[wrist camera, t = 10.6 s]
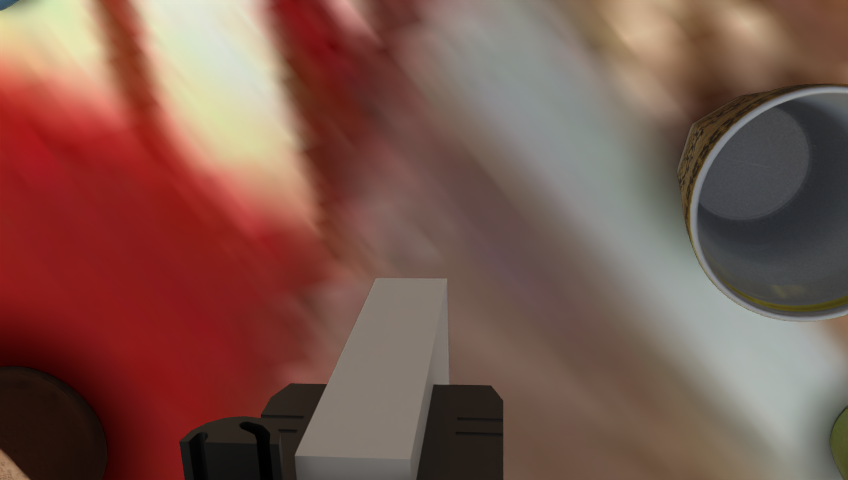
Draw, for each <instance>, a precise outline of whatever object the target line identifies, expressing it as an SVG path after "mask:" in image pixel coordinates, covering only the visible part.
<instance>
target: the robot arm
mask: <svg viewBox="0 0 848 480" xmlns="http://www.w3.org/2000/svg"><path fill="white" fill-rule="evenodd" d="M179 442H180V449H181V456H182V463H183V470H184V476H185V480H503V400H502V399H501V398H500V396H499V395H498V394H497V393H496V391H495V390H494V389H493V387H492V386H486V385H449V349H448V304H447V279H442V278H376V279H375V281H374V284H373V286H372V288H371V290H370V292H369V294H368V297H367V299H366V301H365V303H364V305H363V308H362V310H361V312H360V314H359V316H358V318H357V321H356V323H355V325H354V327H353V329H352V331H351V334H350V336H349V338H348V340H347V342H346V345H345V347H344V349H343V351H342V353H341V355H340V358H339V360H338V362H337V364H336V366H335V369H334V371H333V373H332V375H331V377H330V379H329V382H328V384H289V385H288V386H287V387H285V388H284V389H282V390H281V391H280V392H278V393H277V394H275V395H274V396H273V397H271V398H270V400H269V402H268V403H267V405H266V407H265V409H264V410H263V412H262V414H261V418H255V417H247V416H241V417H228V418H223V419H219V420H216V421H212V422H208V423H206V424H204V425H202V426H200V427H198V428H196V429H194V430H192V431H190V432H189V433H188V434H187V435H186V436H185V437H184V438H183V439H182V440H181V441H179Z"/></svg>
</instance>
